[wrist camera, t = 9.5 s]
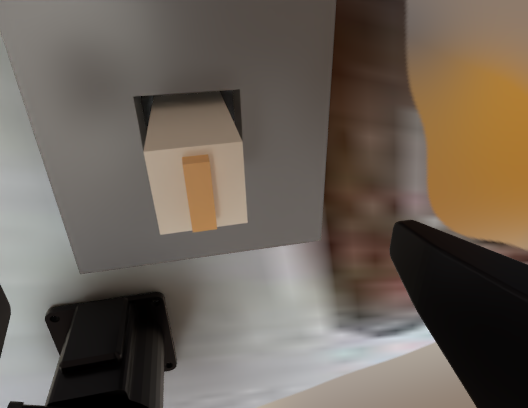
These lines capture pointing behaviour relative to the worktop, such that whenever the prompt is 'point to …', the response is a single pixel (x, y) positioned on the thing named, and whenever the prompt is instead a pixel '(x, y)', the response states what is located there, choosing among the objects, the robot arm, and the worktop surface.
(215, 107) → the plug
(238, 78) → the jack panel
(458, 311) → the robot arm
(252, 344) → the worktop surface
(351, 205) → the worktop surface
